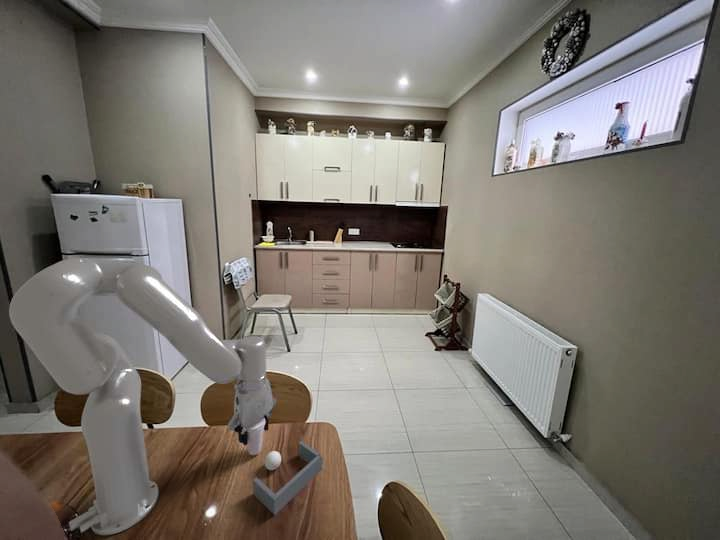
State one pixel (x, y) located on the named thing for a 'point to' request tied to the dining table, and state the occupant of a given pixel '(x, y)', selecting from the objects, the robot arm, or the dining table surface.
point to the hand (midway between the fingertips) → (254, 434)
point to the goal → (294, 485)
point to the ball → (273, 460)
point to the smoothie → (255, 436)
